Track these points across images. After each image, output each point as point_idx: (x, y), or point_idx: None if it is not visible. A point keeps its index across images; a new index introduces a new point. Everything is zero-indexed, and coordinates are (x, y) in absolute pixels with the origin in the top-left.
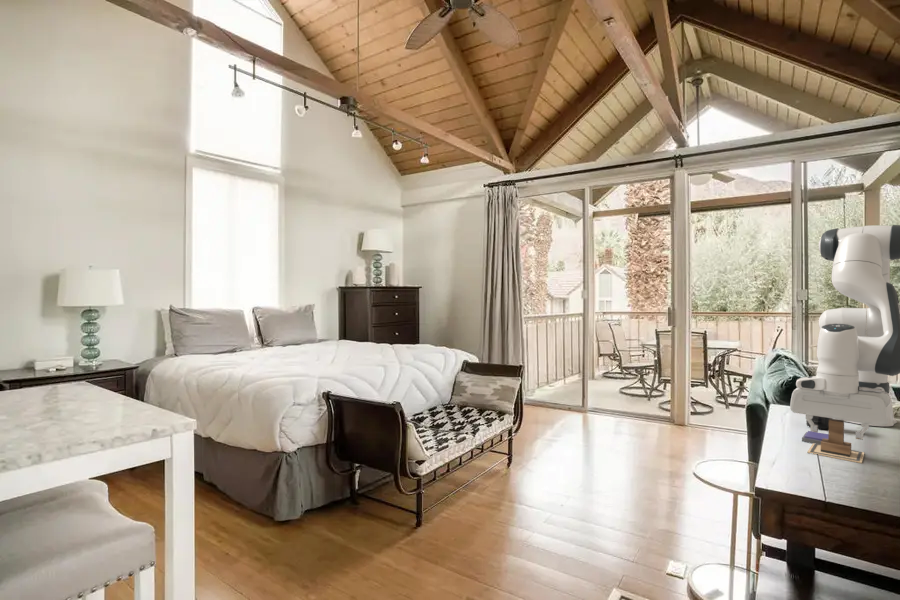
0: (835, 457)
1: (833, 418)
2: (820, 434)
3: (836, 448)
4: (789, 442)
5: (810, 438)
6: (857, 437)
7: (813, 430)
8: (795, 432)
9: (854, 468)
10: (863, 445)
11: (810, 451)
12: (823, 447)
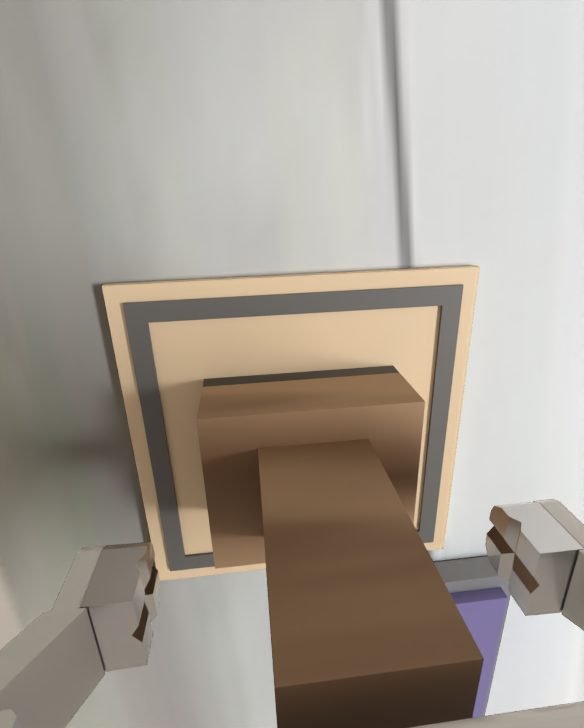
0: (286, 278)
1: (436, 724)
2: None
3: (297, 393)
4: (573, 468)
5: (467, 593)
6: (127, 549)
7: (534, 507)
8: (524, 700)
9: (103, 30)
10: (202, 725)
11: (460, 289)
12: (387, 381)
